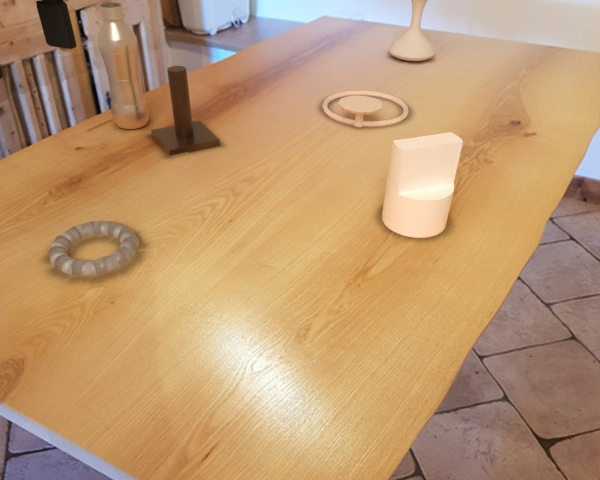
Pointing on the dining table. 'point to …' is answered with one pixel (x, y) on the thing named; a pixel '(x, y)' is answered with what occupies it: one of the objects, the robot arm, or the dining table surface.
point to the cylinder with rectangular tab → (421, 184)
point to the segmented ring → (97, 266)
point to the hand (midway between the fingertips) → (27, 61)
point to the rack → (183, 120)
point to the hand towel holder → (363, 107)
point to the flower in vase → (413, 38)
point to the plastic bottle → (122, 68)
